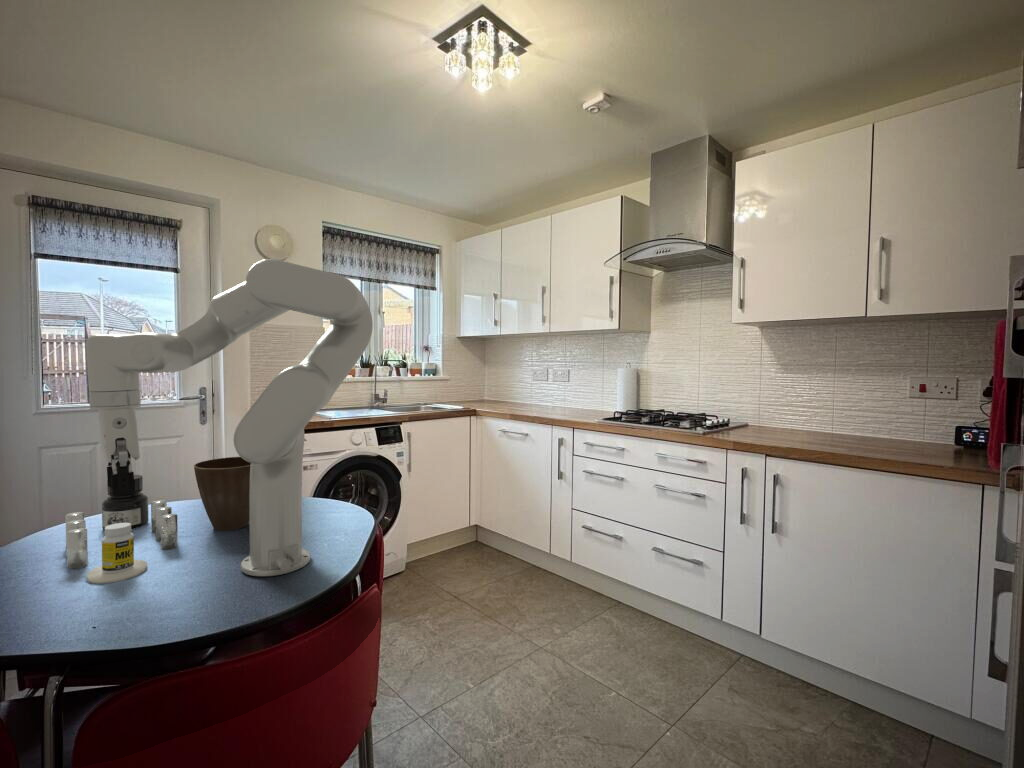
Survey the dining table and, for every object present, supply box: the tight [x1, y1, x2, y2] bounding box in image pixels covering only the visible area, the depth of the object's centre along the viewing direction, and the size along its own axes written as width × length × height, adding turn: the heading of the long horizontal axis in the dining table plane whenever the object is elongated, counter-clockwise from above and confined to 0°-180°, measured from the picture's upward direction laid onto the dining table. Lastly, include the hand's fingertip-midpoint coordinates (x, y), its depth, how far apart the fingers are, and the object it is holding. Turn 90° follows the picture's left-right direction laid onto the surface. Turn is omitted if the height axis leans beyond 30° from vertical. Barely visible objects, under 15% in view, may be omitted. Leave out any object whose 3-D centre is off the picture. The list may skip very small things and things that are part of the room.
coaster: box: [86, 559, 148, 585], centre depth 95 cm, size 9×9×1 cm
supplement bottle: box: [101, 523, 135, 574], centre depth 94 cm, size 5×5×8 cm
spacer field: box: [65, 499, 179, 570], centre depth 108 cm, size 17×18×7 cm
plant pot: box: [193, 456, 251, 532], centre depth 122 cm, size 15×15×16 cm
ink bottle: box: [101, 474, 149, 531], centre depth 121 cm, size 10×9×12 cm
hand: (121, 490), depth 94 cm, fingers open, 9 cm apart
